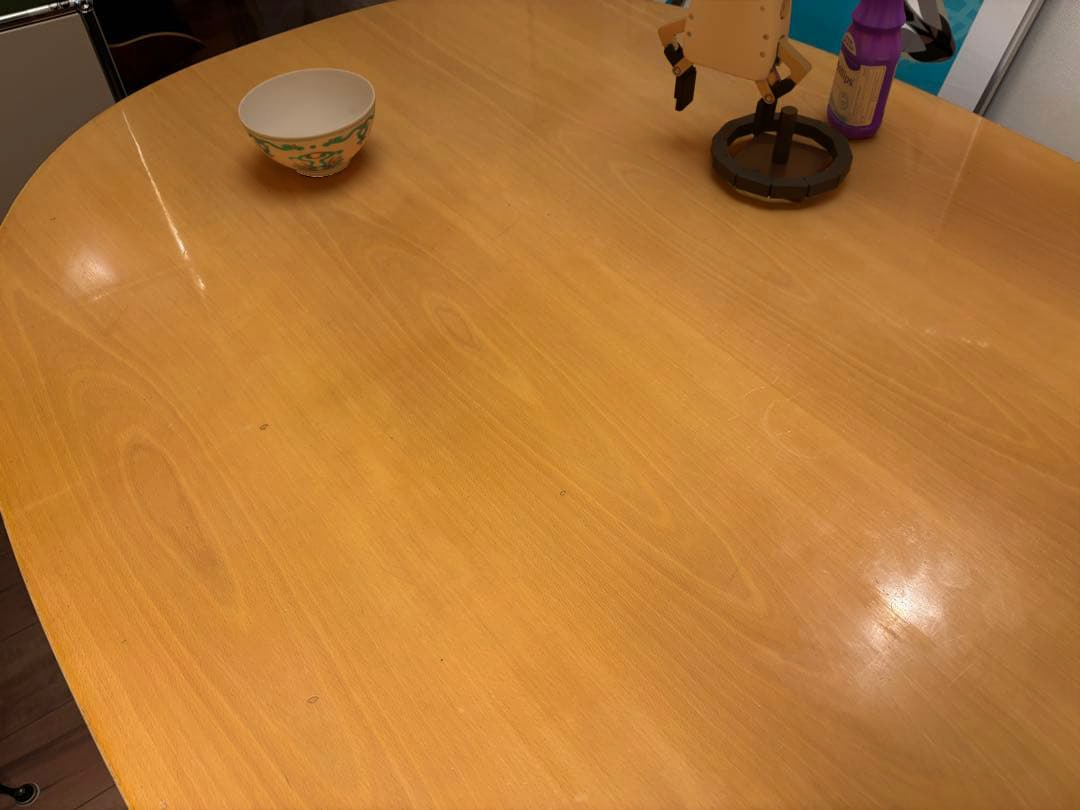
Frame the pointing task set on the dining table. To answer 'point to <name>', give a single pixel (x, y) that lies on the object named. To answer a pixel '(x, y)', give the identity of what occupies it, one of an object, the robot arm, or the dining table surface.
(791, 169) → the brown peg stand
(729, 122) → the ring
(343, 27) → the dining table surface
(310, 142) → the chinaware
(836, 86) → the bottle
